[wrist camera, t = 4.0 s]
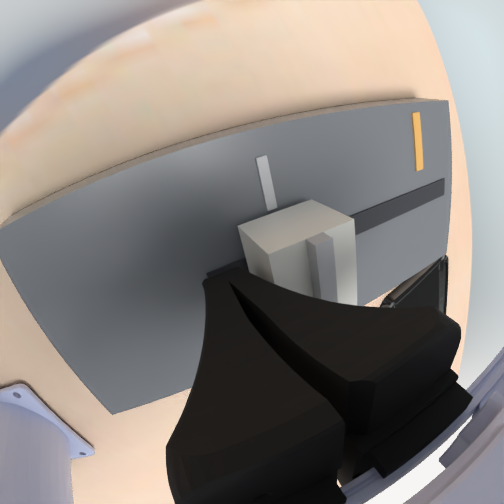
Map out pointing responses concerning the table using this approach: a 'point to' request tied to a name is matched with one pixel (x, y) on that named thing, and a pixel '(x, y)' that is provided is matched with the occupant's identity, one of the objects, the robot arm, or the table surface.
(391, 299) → the phone
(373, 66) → the table surface
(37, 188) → the table surface
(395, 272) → the console
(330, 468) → the robot arm
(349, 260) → the fader
